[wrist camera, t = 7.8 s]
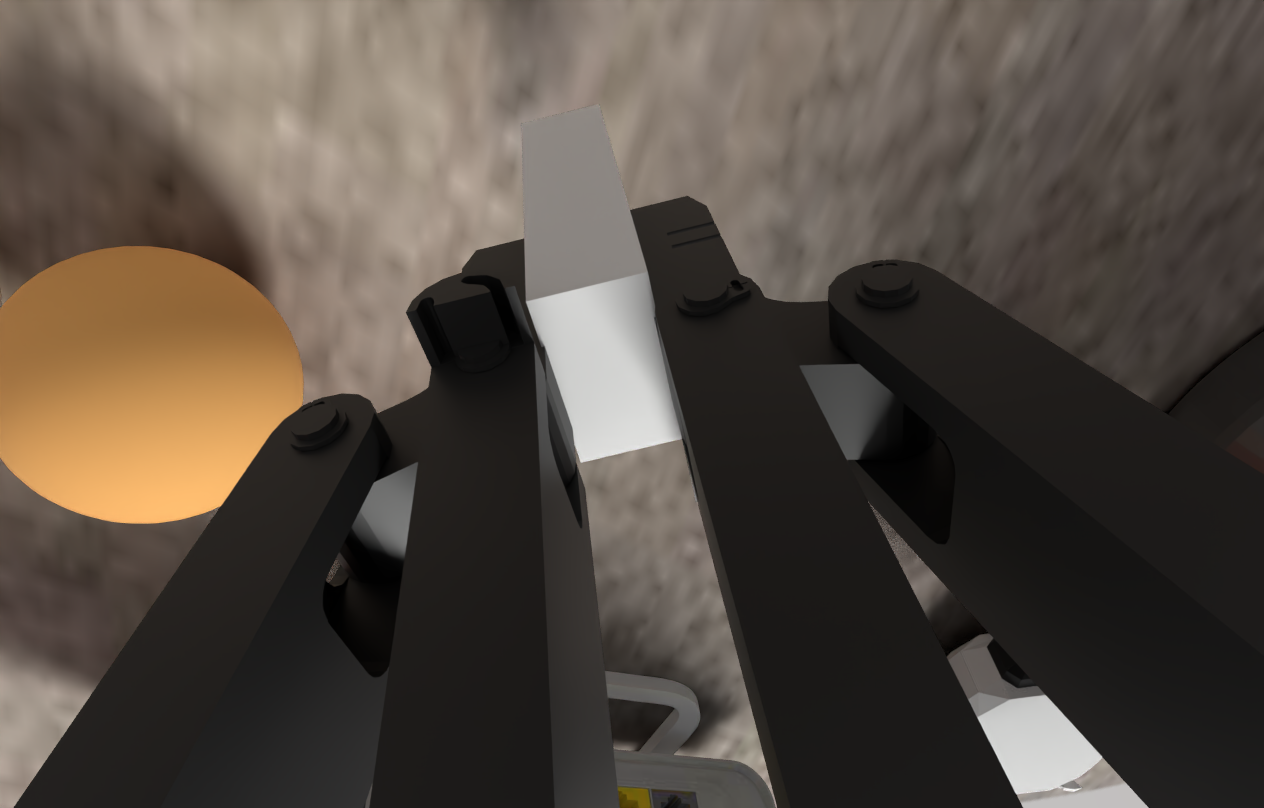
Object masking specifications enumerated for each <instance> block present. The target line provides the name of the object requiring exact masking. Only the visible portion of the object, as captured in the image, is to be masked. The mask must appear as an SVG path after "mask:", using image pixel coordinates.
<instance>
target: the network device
mask: <svg viewBox="0 0 1264 808" xmlns="http://www.w3.org/2000/svg"><path fill="white" fill-rule="evenodd" d="M605 676H606V686H607V695H608V698H614V699H622V700H630V701H639V702H647V703H655V704H663V705H669V706H671V707H674V708H675V709H674V710H673V711H672V713H671V714H670V715H669V716H668V717H667V718H666V720H665V721H664V722H663V723H662V724H661V726H660V727H659V728H658V729H657V730H656V732H655V733H654V734H653V735H652V736H651V737H650V739H649V740H648V741H647V742H646V743H645V745H644V746H643V747H642V748H641V749H640V750H639V752H637V751H626V750H616V749H613V750H614V759H615V768H616V777H617V786H618V796H619V805H620V808H776V807H775V804H774V800H773V797H772V795H771V792H770V790H769V788H768V786H767V785H766V783H765V782H764V780H763V779H762V778H761V777H760V776H759V775H758V774H757V773H756V772H755V771H754V770H753V769H752V768H750V767H749V766H747V765H745V764H743V763H741V762H737V761H732V760H722V759H711V758H700V757H690V756H679V755H674V753H675V752H676V751H677V750H678V749H679V748H680V747H681V746H682V744H683V743H684V742H685V741H686V740H687V739H688V738H689V737H690V736H691V734H692V733H693V732H694V731H695V729H696V728H697V726H698V725H699V721H700V710H699V705H698V701H697V697H696V696H695V694H694V692H693V691H692V690H691V689H689V688H688V687H687V686H685V685H683V684H681V683H678V682H676V681H673V680H668V679H663V678H656V677H648V676H641V675H634V674H626V673H619V672H611V671H605ZM372 784H373V783H372ZM371 791H372V786H371V789H370V791H369V794H368V797H367V800H366V803H365V805H364V808H369V805H370V798H371Z"/></svg>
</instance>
